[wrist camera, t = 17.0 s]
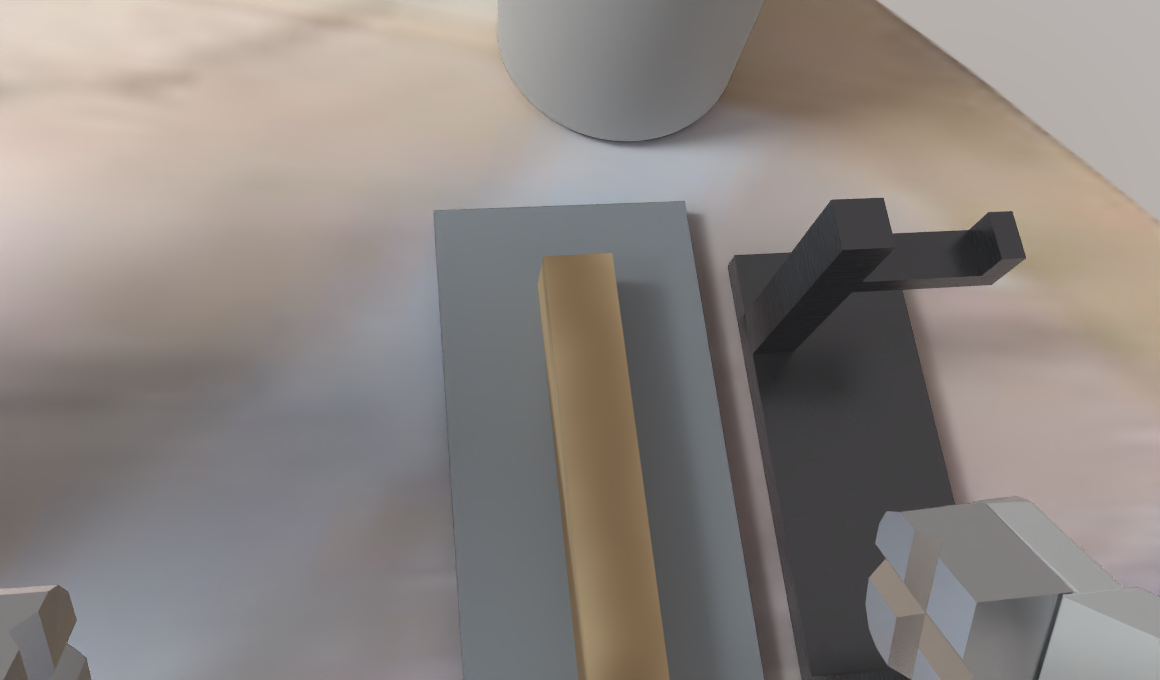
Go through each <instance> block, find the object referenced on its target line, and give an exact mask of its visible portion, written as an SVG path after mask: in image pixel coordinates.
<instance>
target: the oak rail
mask: <svg viewBox="0 0 1160 680" xmlns="http://www.w3.org/2000/svg"><path fill="white" fill-rule="evenodd" d="M538 294H539V304H540V313H541V323H542V333H543V342H544V352H545V362H546V371H547V381H548V391H549V400H550V410H551V420H552V429H553V439H554V449H555V458H556V468H557V478H558V487H559V497H560V507H561V516H562V526H563V536H564V545H565V555H566V565H567V574H568V584H569V594H570V603H571V613H572V623H573V632H574V642H575V651H576V661H577V671H578V680H670V678H669V671H668V663H667V656H666V648H665V641H664V634H663V626H662V619H661V611H660V604H659V596H658V589H657V582H656V574H655V567H654V559H653V552H652V544H651V537H650V530H649V522H648V515H647V507H646V500H645V492H644V485H643V478H642V470H641V463H640V455H639V448H638V440H637V433H636V426H635V418H634V411H633V403H632V396H631V388H630V381H629V374H628V366H627V359H626V351H625V344H624V336H623V329H622V322H621V314H620V307H619V299H618V292H617V284H616V277H615V270H614V262H613V255H612V253H601V254H579V255H558V256H543V260H542V265H541V270H540V275H539V280H538Z"/></svg>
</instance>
